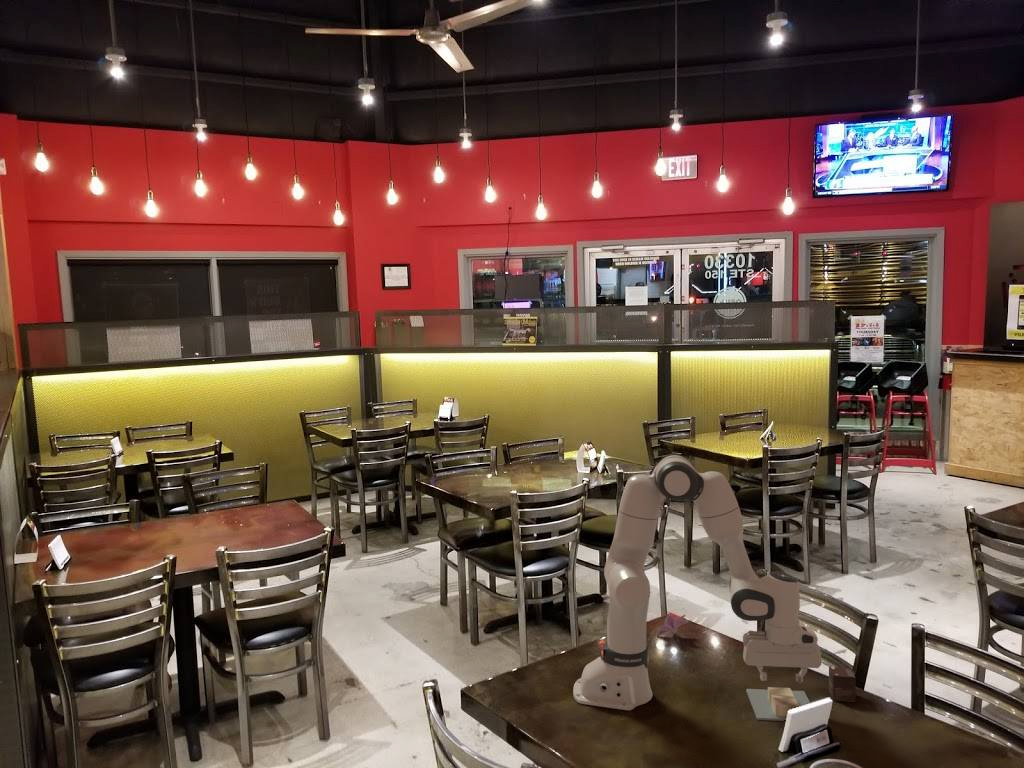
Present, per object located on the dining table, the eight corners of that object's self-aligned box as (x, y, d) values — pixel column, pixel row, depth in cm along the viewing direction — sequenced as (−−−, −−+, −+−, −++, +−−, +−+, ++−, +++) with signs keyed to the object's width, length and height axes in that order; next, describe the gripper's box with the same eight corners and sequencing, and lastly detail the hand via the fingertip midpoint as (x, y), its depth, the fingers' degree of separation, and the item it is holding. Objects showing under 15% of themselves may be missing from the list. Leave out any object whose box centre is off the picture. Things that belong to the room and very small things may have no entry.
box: (855, 702, 208) (856, 677, 207) (832, 701, 209) (833, 675, 208) (850, 692, 214) (851, 667, 213) (828, 690, 215) (828, 665, 214)
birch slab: (767, 697, 210) (775, 715, 200) (767, 687, 210) (775, 705, 200) (789, 698, 210) (799, 716, 200) (790, 687, 209) (799, 706, 199)
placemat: (757, 719, 200) (757, 717, 200) (746, 690, 216) (746, 688, 215) (819, 722, 198) (819, 720, 198) (803, 693, 214) (804, 691, 213)
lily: (694, 639, 254) (684, 610, 257) (696, 639, 243) (686, 609, 246) (660, 649, 255) (651, 621, 258) (661, 650, 244) (651, 620, 247)
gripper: (745, 635, 203) (744, 684, 204) (823, 638, 201) (822, 687, 202) (740, 625, 209) (740, 673, 210) (817, 628, 207) (816, 676, 208)
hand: (781, 680), depth 206 cm, fingers open, 8 cm apart
